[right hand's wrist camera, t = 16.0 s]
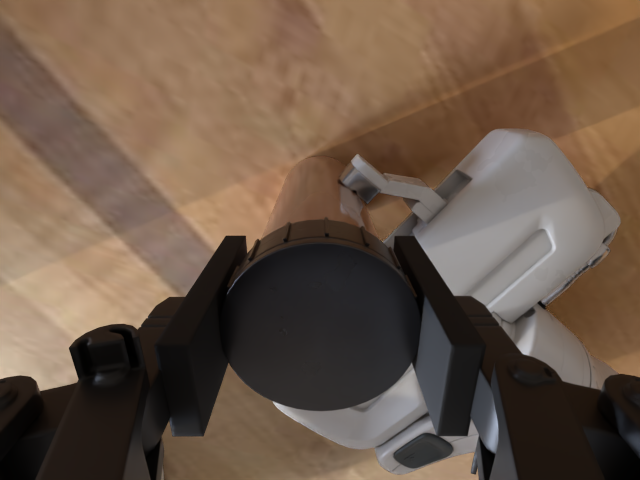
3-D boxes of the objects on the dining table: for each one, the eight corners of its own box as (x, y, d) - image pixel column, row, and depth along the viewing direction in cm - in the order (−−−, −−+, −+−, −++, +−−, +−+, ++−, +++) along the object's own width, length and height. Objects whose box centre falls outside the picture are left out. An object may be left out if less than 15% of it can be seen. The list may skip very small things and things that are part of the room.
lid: (411, 359, 13) (425, 402, 11) (252, 377, 13) (242, 421, 12) (402, 205, 11) (419, 227, 9) (214, 230, 11) (193, 255, 9)
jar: (270, 206, 25) (207, 348, 11) (305, 141, 24) (284, 211, 10) (333, 240, 26) (348, 410, 12) (371, 179, 25) (440, 295, 11)
